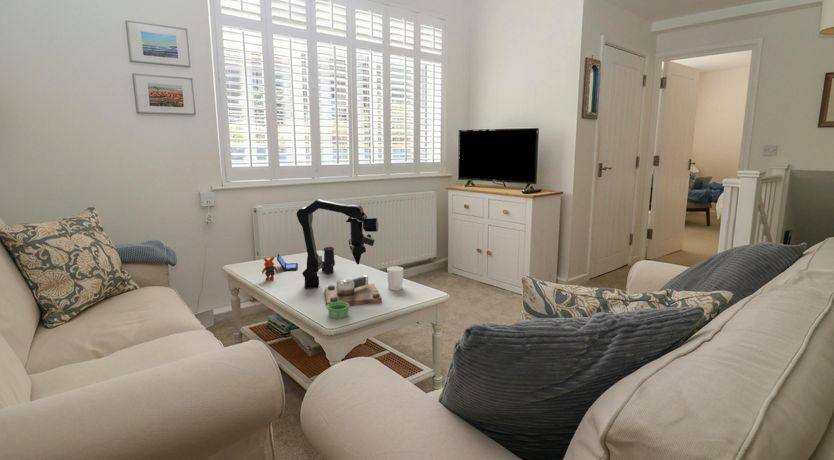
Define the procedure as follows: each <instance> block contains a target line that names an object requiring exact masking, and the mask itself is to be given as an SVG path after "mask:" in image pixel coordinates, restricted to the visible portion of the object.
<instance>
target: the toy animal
mask: <svg viewBox="0 0 834 460" xmlns="http://www.w3.org/2000/svg"><path fill="white" fill-rule="evenodd" d="M262 259H263V261H264V263H263V265H264V267H263V269H262V271H261V273H262V275H264V274H265V275H264V276H266V277H265V281H268V282H269V281H274V279H275V278H274V275H275V272H278V268H277V267H276V266H274V265H275V263H274V262H273V260H275V256H272V257H270V258H269V259H267V258H265V257H263V258H262Z"/></svg>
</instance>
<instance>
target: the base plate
mask: <svg viewBox="0 0 834 460" xmlns="http://www.w3.org/2000/svg"><path fill="white" fill-rule="evenodd" d="M324 294H325V295H324V296H325V300H326V306H328V304H330V303H333V302H346V303H348V304H349V306H356V305H357V306H358V305H368V304H370V305H371V304H381V303H382V301H383V300H382V297H381V294H380V292H379V290H378V288H377V287H376V285H375V283H368V284H367V285H363V286H360V287H357V288H354V294H352V295H346V296H343V295H338V294H337V286H335V285H333V284H332V285H331V284H330V285H328V286H325V287H324Z"/></svg>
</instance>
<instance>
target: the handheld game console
mask: <svg viewBox="0 0 834 460" xmlns="http://www.w3.org/2000/svg"><path fill="white" fill-rule="evenodd" d="M276 260H277V263H279V265H280V266H281V267H282V268H283V272H292V271H298V269H299V267H298V265H299V264H298V263H297V262H294V263H286V262H285V261H284V259H283V257H282V256H281V255H280V254H279V253H278V254H277V257H276Z"/></svg>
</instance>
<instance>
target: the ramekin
mask: <svg viewBox="0 0 834 460" xmlns="http://www.w3.org/2000/svg"><path fill="white" fill-rule="evenodd" d="M326 306H327V305H326ZM349 308H350V305H349V304H348V303H346V302H333V303H330V304H328V306H327V311H328V312H327V313H328V317H330V318H331V319H334V320H335V319H344V318H347V317H348V315H349Z"/></svg>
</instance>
